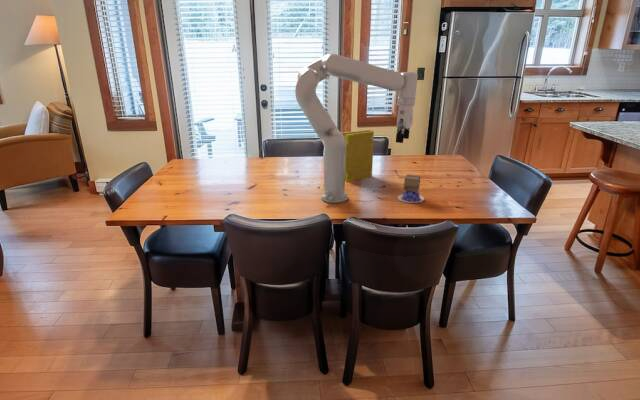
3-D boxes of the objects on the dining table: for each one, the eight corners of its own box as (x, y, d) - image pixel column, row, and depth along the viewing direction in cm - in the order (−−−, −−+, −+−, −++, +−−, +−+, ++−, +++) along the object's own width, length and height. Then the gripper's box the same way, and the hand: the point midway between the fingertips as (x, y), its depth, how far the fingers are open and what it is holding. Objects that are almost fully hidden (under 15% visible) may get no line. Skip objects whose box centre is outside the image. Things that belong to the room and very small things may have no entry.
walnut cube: (416, 191, 167) (418, 179, 165) (403, 190, 170) (404, 177, 168) (419, 187, 173) (420, 175, 170) (406, 186, 175) (407, 174, 173)
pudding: (395, 202, 170) (395, 191, 168) (400, 193, 180) (401, 183, 179) (421, 205, 166) (422, 195, 164) (426, 196, 176) (427, 186, 174)
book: (346, 181, 197) (346, 134, 187) (340, 178, 203) (341, 132, 193) (374, 177, 203) (376, 132, 193) (368, 174, 208) (369, 129, 199)
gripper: (409, 104, 153) (405, 145, 160) (419, 100, 168) (415, 137, 174) (392, 103, 157) (388, 143, 163) (402, 99, 171) (399, 136, 177)
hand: (402, 140), depth 168 cm, fingers open, 9 cm apart
